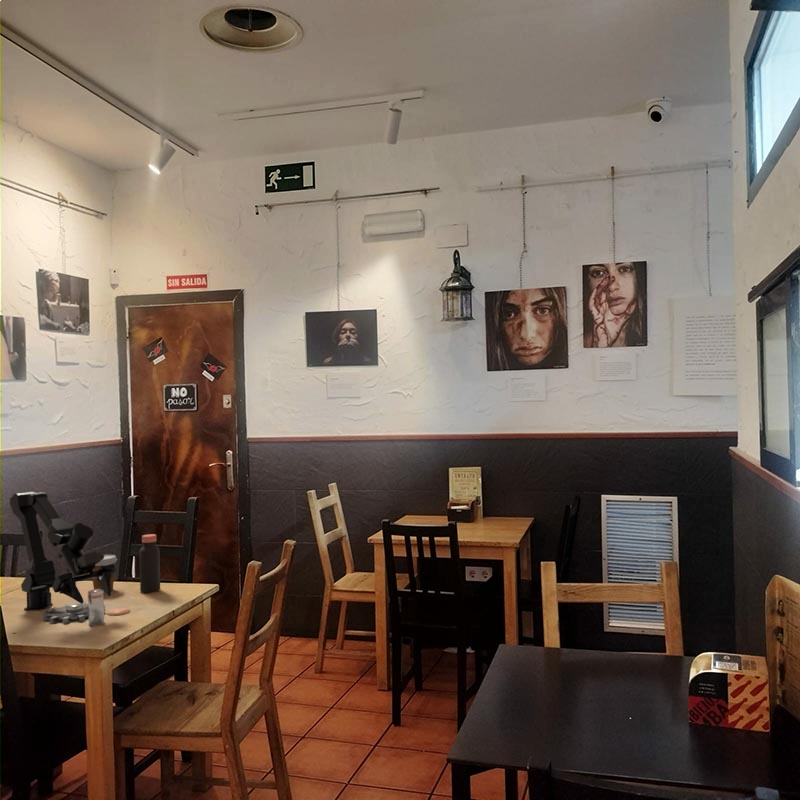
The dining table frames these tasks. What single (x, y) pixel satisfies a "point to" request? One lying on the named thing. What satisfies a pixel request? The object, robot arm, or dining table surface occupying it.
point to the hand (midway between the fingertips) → (96, 599)
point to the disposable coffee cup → (106, 560)
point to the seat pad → (118, 611)
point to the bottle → (149, 565)
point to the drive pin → (96, 607)
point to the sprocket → (68, 613)
